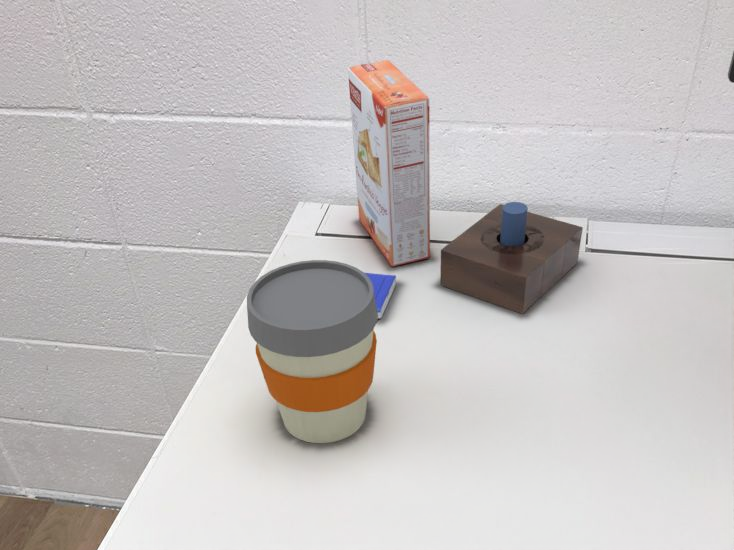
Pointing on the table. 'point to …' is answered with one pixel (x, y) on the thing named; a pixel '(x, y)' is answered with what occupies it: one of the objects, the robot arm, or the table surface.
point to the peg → (513, 224)
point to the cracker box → (391, 160)
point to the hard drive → (382, 290)
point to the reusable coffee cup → (316, 345)
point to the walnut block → (510, 260)
